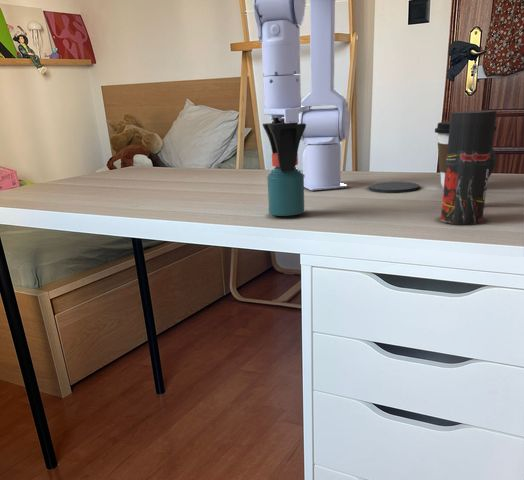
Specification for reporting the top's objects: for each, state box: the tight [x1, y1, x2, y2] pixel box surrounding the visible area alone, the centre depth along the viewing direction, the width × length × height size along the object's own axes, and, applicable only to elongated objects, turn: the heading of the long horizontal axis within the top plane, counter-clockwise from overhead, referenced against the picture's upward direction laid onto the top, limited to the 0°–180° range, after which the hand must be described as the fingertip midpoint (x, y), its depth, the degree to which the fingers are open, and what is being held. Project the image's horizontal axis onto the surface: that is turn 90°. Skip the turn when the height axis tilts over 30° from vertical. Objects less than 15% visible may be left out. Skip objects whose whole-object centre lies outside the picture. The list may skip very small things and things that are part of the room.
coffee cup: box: [434, 120, 497, 190], centre depth 102 cm, size 11×11×12 cm
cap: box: [271, 152, 299, 168], centre depth 86 cm, size 4×4×2 cm
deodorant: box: [440, 109, 497, 226], centre depth 76 cm, size 6×6×15 cm
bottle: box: [266, 166, 305, 217], centre depth 87 cm, size 6×6×9 cm
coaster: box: [368, 181, 420, 194], centre depth 108 cm, size 10×10×1 cm
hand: (284, 169), depth 86 cm, fingers closed on cap, 4 cm apart
